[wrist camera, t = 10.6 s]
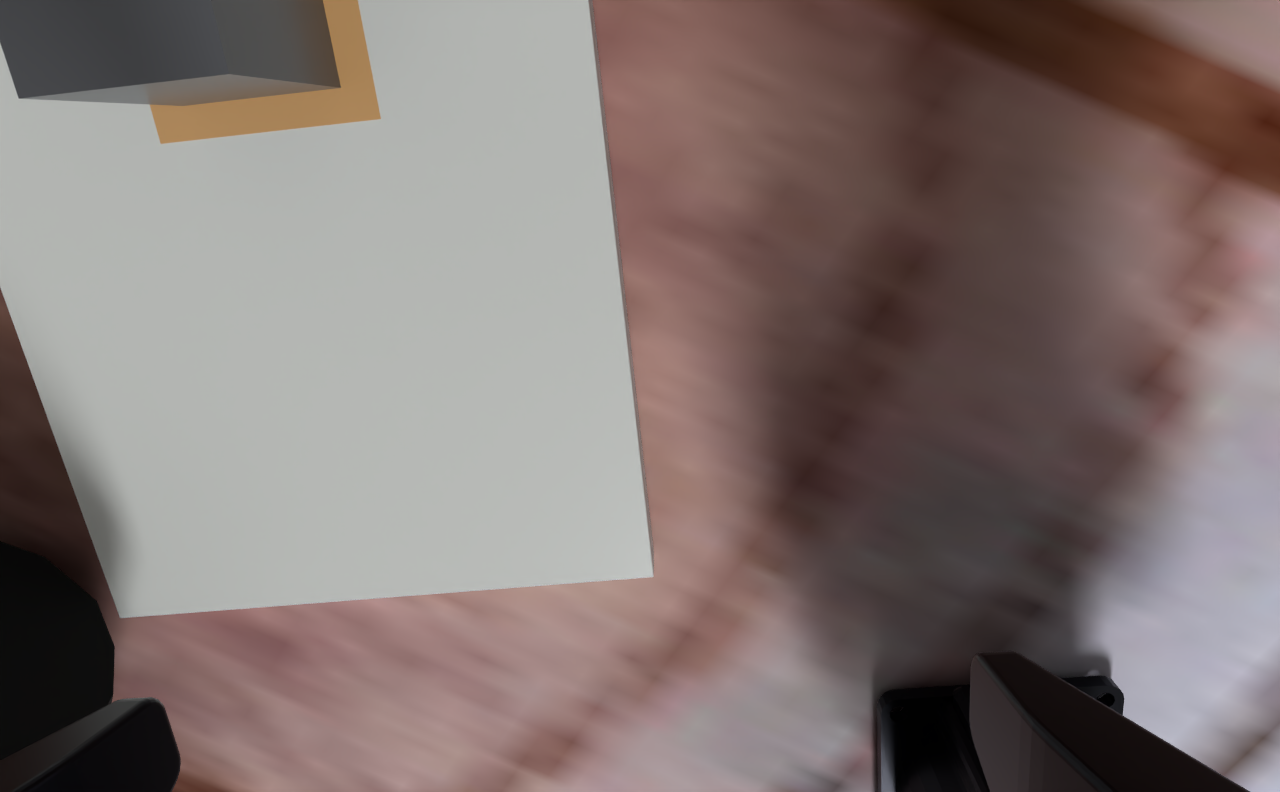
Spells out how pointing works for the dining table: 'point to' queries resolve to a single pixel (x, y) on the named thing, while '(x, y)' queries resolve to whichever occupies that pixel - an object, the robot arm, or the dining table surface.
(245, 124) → the board
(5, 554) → the striped bottle lying down
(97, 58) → the block
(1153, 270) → the dining table surface
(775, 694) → the dining table surface
